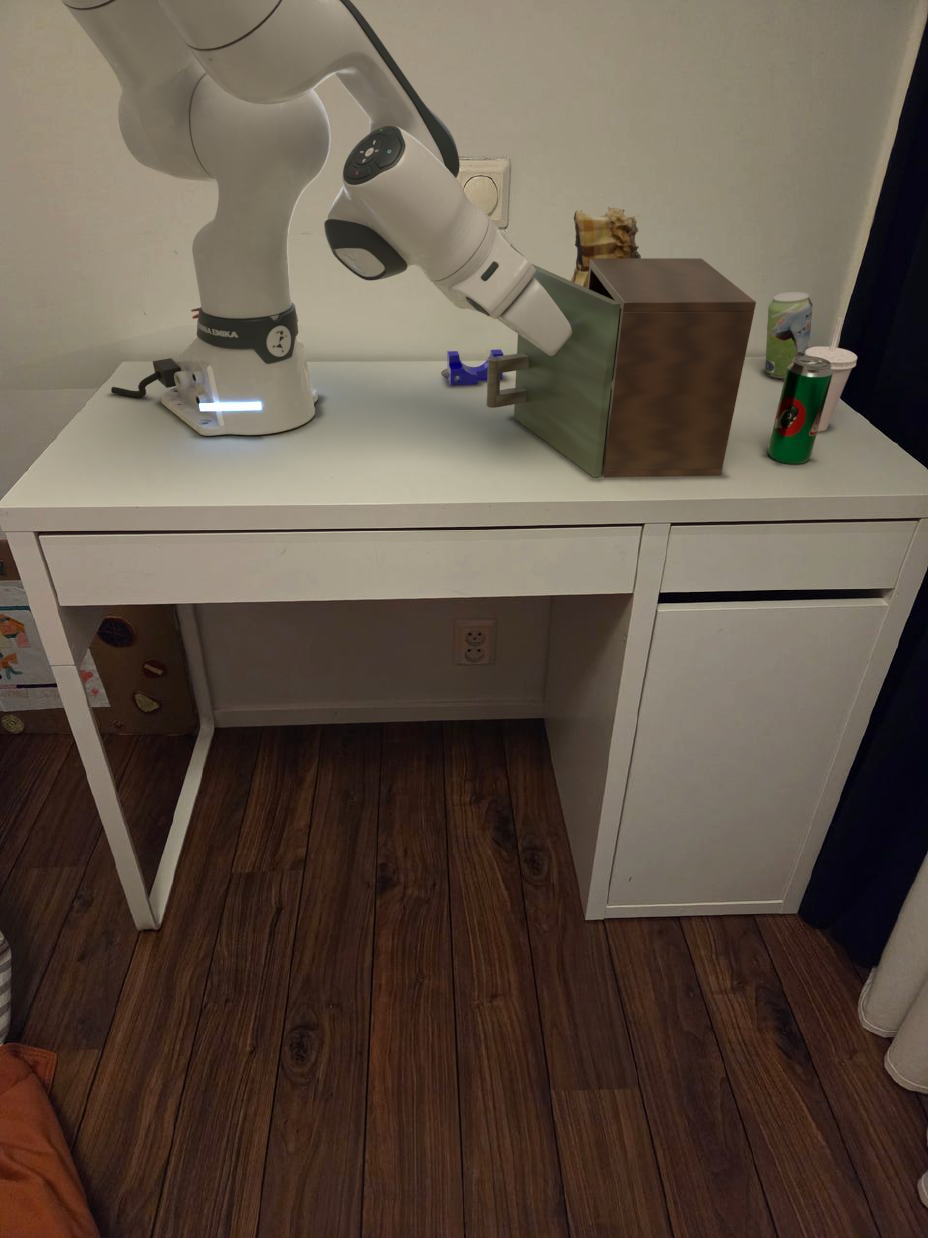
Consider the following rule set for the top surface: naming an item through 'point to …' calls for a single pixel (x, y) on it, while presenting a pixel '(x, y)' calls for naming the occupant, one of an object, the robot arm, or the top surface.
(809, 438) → the soda can
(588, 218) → the plaid cloth bag
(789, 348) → the beverage can
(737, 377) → the cupboard
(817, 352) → the smoothie
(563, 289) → the door
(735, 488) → the top surface
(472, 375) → the cable holder
